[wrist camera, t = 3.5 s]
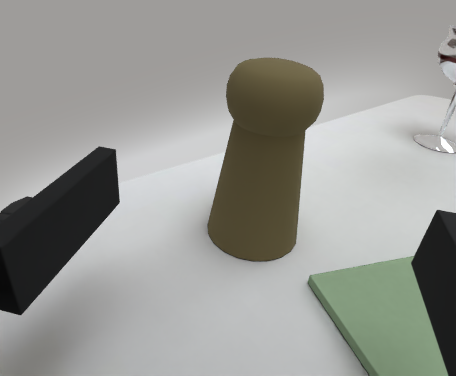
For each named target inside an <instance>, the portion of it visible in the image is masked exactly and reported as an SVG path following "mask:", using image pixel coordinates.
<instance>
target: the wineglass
mask: <svg viewBox="0 0 456 376" xmlns="http://www.w3.org/2000/svg"><path fill="white" fill-rule="evenodd" d="M438 63H439V65H440V67H441V69H442V71H443V73H444V74H445V75H446V76H447V77H448V78H450V79H451V80H452V81H453V82H454V83H453V85H454V87H456V26H449V36H448V37H447V38H446V39H445V40H444V41H443V42H442V44H441V45H440V49H439V51H438ZM455 108H456V90H455V92H454V95H453V98H452V100H451V103H450V106H449V108H448V111H447V113H446V116H445V119H444V121H443V124H442V126H441V129H440V132H439V134H438V135H425V134H420V135H416V136H414V139H415V141H416V142H418V143H419V144H421V145H423V146H425V147H427V148H430V149H433V150H437V151H441V152H448V153H455V152H456V144H455V143H453V142H452V141H450V140H448V139H446V138H443V137H442V134H443V132H444V130H445V128H446V126H447V124H448V122H449V120H450V118H451V116H452V114H453V112H454V110H455Z"/></svg>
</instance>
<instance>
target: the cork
mask: <svg viewBox="0 0 456 376" xmlns="http://www.w3.org/2000/svg"><path fill="white" fill-rule="evenodd" d="M323 97H324V94H323V83H322V80H321V77H320V75H319V74H318V73H317V72H315V71H314V70H313V69H312V68H310V67H308V66H306V65H303V64H300V63H297V62H294V61H290V60H285V59H279V58H258V59H249V60H246V61H244V62H242V63H240V64H238V66H237V67H236V68H235V69H234V71H233V72H232V73H231V75H230V78H229V80H228V83H227V91H226V98H227V105H228V109H229V112H230V114H231V116H232V117H233V119H234V121H233V125H232V129H231V133H230V137H229V141H228V145H227V149H226V153H225V157H224V161H223V165H222V169H221V173H220V177H219V181H218V185H217V189H216V193H215V197H214V201H213V205H212V209H211V213H210V217H209V221H208V234H209V236H210V238H211V239H212V241H213V243H214V244H215V245H217V246H218V247H219V248H220V249H221V250H223V251H224V252H226V253H228V254H230V255H233V256H235V257H237V258H241V259H246V260H250V261H269V260H273V259H277V258H281V257H282V256H284V255H286V254H287V253H289V252H290V251H291V250H292V249H293V247H294V246H295V244H296V235H297V224H298V212H299V200H300V188H301V176H302V164H303V152H304V141H305V130H306V129H307V128H308V127H310V126H311V125H312V124H313V123H314V122H315V121H316V119H317V117H318V115H319V113H320V111H321V108H322V104H323V100H324V98H323Z"/></svg>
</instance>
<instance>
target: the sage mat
mask: <svg viewBox="0 0 456 376" xmlns="http://www.w3.org/2000/svg"><path fill="white" fill-rule="evenodd" d="M413 258H414V256H411V257H406V258H401V259H395V260H390V261H385V262H379V263H374V264H369V265H363V266H358V267H353V268H347V269H342V270H336V271H331V272H326V273H320V274H315V275H310V277H309V280H308V284H309V285H310V287H311V288H312V290H313V291H314V293H315V294H316V296H317V297H318V299H319V300H320V302H321V303H322V305H323V306H324V308H325V309H326V311H327V312H328V314H329V315H330V317H331V318H332V320H333V321H334V323H335V324H336V326H337V327H338V329H339V330H340V332H341V333H342V335H343V336H344V338H345V339H346V341H347V342H348V344H349V345H350V347H351V348H352V350H353V351H354V353H355V354H356V356H357V357H358V359H359V360H360V362H361V363H362V365H363V366H364V368H365V369H366V371H367V372H368V374H369V375H370V376H448V373H447V370H446V367H445V364H444V361H443V358H442V355H441V352H440V349H439V346H438V343H437V340H436V337H435V334H434V331H433V328H432V325H431V322H430V319H429V316H428V313H427V310H426V307H425V304H424V301H423V298H422V295H421V292H420V289H419V286H418V283H417V280H416V277H415V274H414V271H413V268H412V265H411V262H412V260H413Z"/></svg>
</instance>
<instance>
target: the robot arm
mask: <svg viewBox="0 0 456 376" xmlns="http://www.w3.org/2000/svg"><path fill="white" fill-rule="evenodd" d="M119 203H120V201H119V187H118V174H117V161H116V150H115V149H110V148H104V147H98V148H96V149H95V150H94V151H93V152H91V153H90V154H89V155H87V156H86V157H85V158H84V159H82V160H81V161H80V162H78V163H77V164H76V165H74V166H73V167H72V168H71V169H69V170H68V171H67V172H66V173H64V174H63V175H62V176H60V177H59V178H58V179H56V180H55V181H54V182H53V183H51V184H50V185H49V186H47V187H46V188H45V189H43V190H42V191H41V192H40V193H38V194H37V195H36V196H34V197H33V198H32V197H25V198H23V199H20V200H18V201H15V202H13V203H11V204H10V205H9V206H7V207H6V208H4V209H3V210H2V211H1V213H0V310H2V311H6V312H10V313H14V314H18V315H22V314H23V312H24V311H25V310H26V309H27V308H28V307H29V306H30V304H31V303H32V302H33V301H34V300H35V299H36V298H37V296H38V295H39V294H40V293H41V292H42V291H43V290H44V289H45V287H46V286H47V285H48V284H49V283H50V282H51V281H52V279H53V278H54V277H55V276H56V275H57V274H58V273H59V271H60V270H61V269H62V268H63V267H64V266H65V265H66V263H67V262H68V261H69V260H70V259H71V258H72V257H73V255H74V254H75V253H76V252H77V251H78V250H79V249H80V247H81V246H82V245H83V244H84V243H85V242H86V241H87V239H88V238H89V237H90V236H91V235H92V234H93V233H94V232H95V230H96V229H97V228H98V227H99V226H100V225H101V224H102V222H103V221H104V220H105V219H106V218H107V217H108V216H109V214H110V213H111V212H112V211H113V210H114V209H115V208H116V206H117V205H118V204H119ZM411 265H412V268H413V271H414V274H415V277H416V280H417V283H418V286H419V289H420V292H421V295H422V298H423V301H424V304H425V307H426V310H427V313H428V316H429V319H430V322H431V325H432V328H433V331H434V334H435V337H436V340H437V343H438V346H439V349H440V352H441V355H442V358H443V361H444V364H445V367H446V370H447V373H448V376H456V213H452V212H446V211H441V210H437V211H436V213H435V215H434V217H433V219H432V221H431V223H430V225H429V227H428V229H427V231H426V233H425V235H424V237H423V239H422V241H421V243H420V246H419V248H418V250H417V252H416V254H415V256H414V258H413V260H412V262H411Z"/></svg>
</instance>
